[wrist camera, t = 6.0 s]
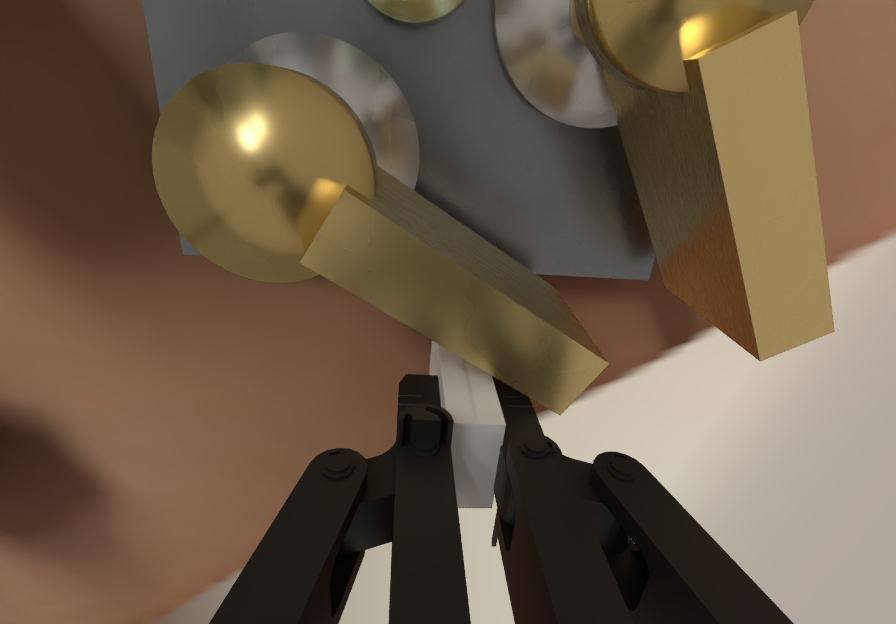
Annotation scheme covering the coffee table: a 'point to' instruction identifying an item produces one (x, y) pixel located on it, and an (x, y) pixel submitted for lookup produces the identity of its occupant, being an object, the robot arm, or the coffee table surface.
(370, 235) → the foot screw
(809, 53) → the coffee table surface
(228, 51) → the plate
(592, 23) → the foot screw
